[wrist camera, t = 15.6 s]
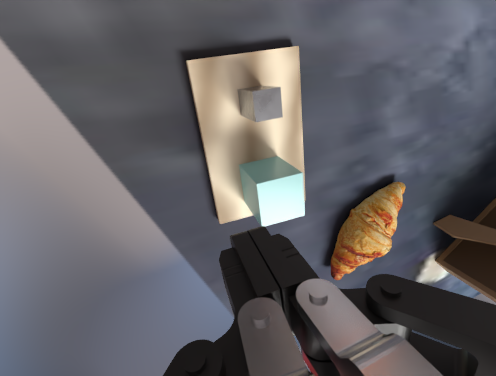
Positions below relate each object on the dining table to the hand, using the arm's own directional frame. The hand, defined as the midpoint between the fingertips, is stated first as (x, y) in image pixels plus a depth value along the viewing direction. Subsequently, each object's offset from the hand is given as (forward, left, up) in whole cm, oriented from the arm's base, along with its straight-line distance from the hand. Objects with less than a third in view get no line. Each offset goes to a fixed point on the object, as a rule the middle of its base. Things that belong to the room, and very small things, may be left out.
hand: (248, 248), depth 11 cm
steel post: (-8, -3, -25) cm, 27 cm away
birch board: (-8, +3, -27) cm, 28 cm away
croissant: (-27, +23, -27) cm, 45 cm away
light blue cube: (-9, +8, -25) cm, 28 cm away
